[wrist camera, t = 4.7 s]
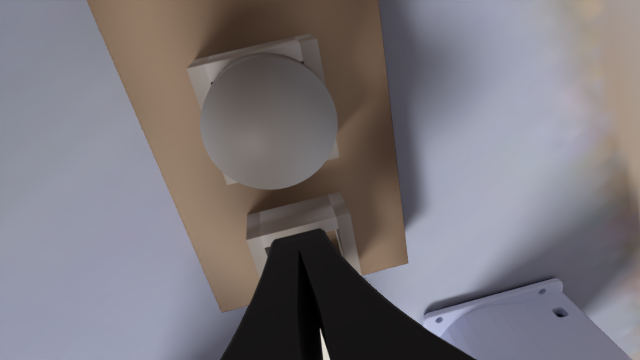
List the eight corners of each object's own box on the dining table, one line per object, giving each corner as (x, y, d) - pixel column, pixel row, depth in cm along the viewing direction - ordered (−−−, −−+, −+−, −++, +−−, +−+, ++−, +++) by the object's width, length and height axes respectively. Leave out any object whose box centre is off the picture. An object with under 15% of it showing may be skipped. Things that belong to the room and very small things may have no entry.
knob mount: (334, -233, 13) (383, -366, 8) (395, 241, 22) (435, 310, 17) (34, -176, 12) (-102, -282, 8) (224, 286, 22) (216, 370, 17)
